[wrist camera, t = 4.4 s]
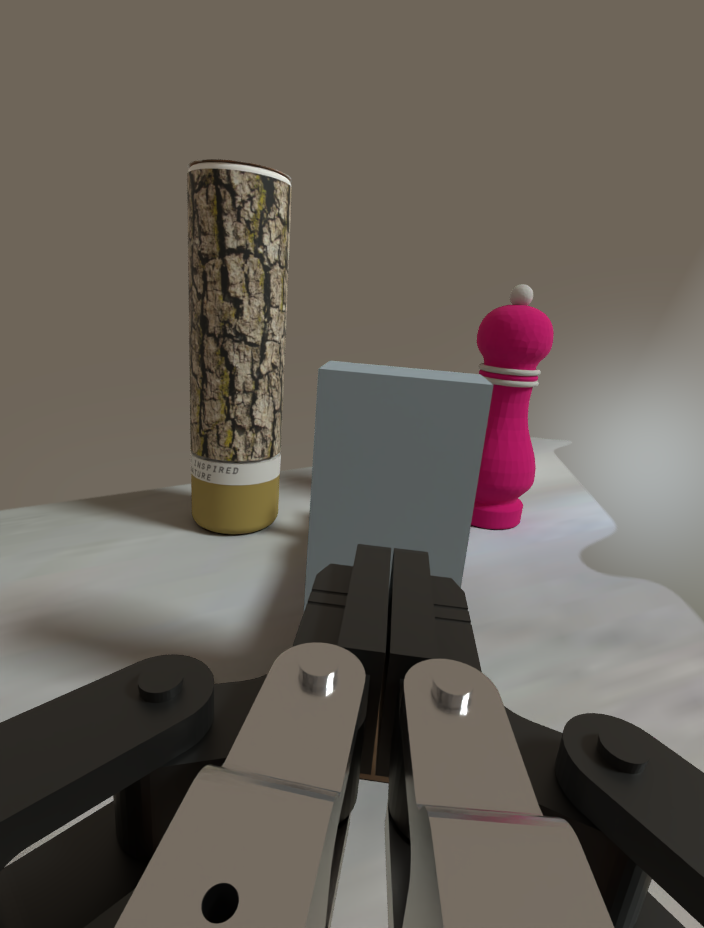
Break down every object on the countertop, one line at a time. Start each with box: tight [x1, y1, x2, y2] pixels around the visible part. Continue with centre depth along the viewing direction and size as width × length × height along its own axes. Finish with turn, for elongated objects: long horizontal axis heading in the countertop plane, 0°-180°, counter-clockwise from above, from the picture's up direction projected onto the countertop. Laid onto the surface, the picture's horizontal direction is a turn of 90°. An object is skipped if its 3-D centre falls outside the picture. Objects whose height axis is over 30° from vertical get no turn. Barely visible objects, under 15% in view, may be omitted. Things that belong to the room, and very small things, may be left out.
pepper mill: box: [471, 285, 553, 529], centre depth 44 cm, size 7×7×20 cm
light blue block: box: [304, 361, 493, 611], centre depth 21 cm, size 6×3×14 cm, turn 84°
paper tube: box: [187, 160, 292, 534], centre depth 38 cm, size 7×7×25 cm
